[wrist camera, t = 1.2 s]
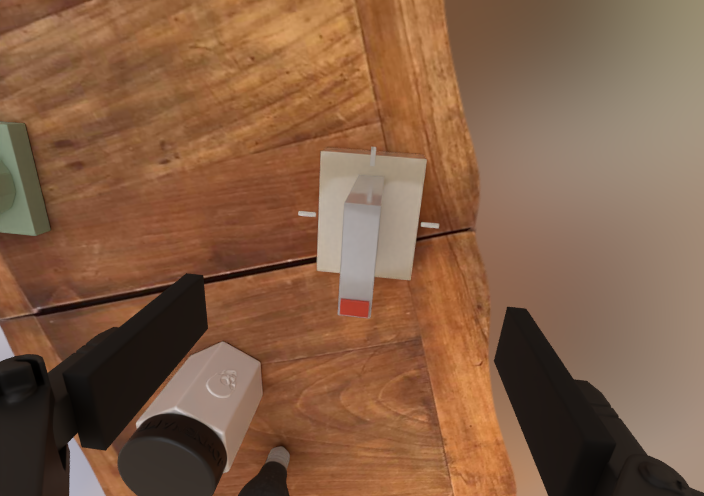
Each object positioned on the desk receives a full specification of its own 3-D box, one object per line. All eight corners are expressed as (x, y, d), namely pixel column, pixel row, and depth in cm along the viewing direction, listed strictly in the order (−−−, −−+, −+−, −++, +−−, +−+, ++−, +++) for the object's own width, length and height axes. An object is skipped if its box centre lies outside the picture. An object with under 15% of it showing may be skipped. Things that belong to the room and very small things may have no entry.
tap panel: (308, 138, 31) (299, 141, 28) (444, 148, 30) (450, 153, 27) (305, 261, 35) (297, 276, 32) (425, 274, 34) (429, 289, 31)
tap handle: (358, 174, 28) (343, 203, 20) (384, 176, 28) (381, 207, 19) (352, 258, 31) (336, 317, 22) (376, 261, 31) (370, 321, 22)
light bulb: (292, 473, 45) (266, 568, 36) (251, 453, 44) (214, 544, 35) (313, 444, 43) (291, 538, 34) (270, 423, 42) (235, 512, 33)
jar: (280, 369, 40) (236, 473, 28) (247, 416, 42) (196, 527, 31) (205, 328, 39) (129, 418, 27) (177, 378, 41) (99, 479, 30)
